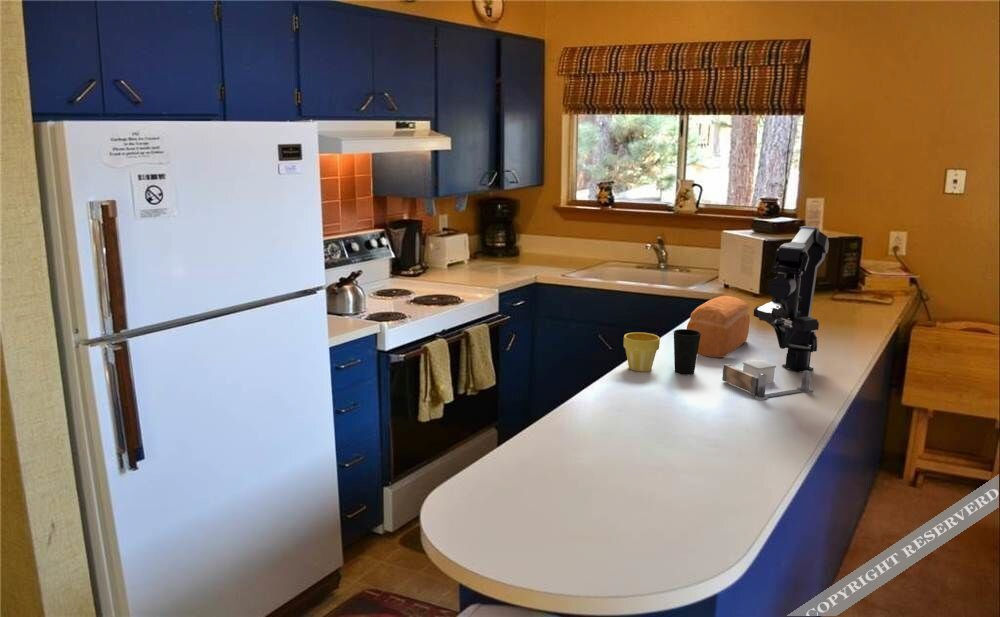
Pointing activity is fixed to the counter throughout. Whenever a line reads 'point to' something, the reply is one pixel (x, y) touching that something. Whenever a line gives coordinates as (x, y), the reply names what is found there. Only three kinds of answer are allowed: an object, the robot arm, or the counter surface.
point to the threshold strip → (783, 393)
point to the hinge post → (761, 387)
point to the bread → (720, 325)
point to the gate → (740, 378)
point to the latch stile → (805, 382)
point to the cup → (685, 350)
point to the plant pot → (641, 350)
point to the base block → (760, 369)
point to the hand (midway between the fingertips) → (782, 348)
